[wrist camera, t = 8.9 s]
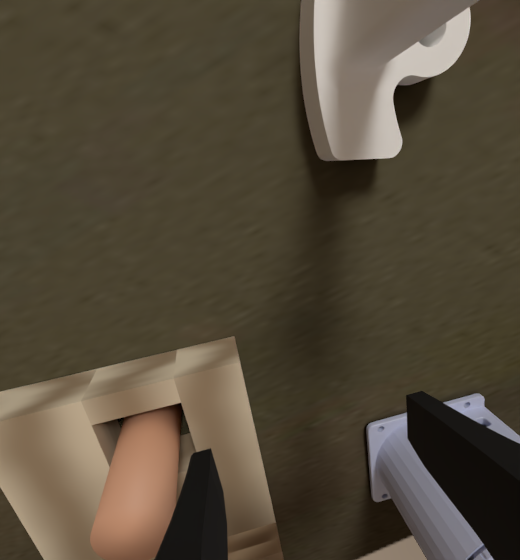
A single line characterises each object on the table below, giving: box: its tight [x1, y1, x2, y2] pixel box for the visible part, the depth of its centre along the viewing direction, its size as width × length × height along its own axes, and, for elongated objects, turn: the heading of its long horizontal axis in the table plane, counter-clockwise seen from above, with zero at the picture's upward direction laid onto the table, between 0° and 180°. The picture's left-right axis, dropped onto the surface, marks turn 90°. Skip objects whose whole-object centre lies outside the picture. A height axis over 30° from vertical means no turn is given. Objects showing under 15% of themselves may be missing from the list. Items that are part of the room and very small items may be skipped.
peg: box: [90, 403, 182, 560], centre depth 18 cm, size 3×3×8 cm
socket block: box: [0, 336, 284, 560], centre depth 20 cm, size 14×14×7 cm
